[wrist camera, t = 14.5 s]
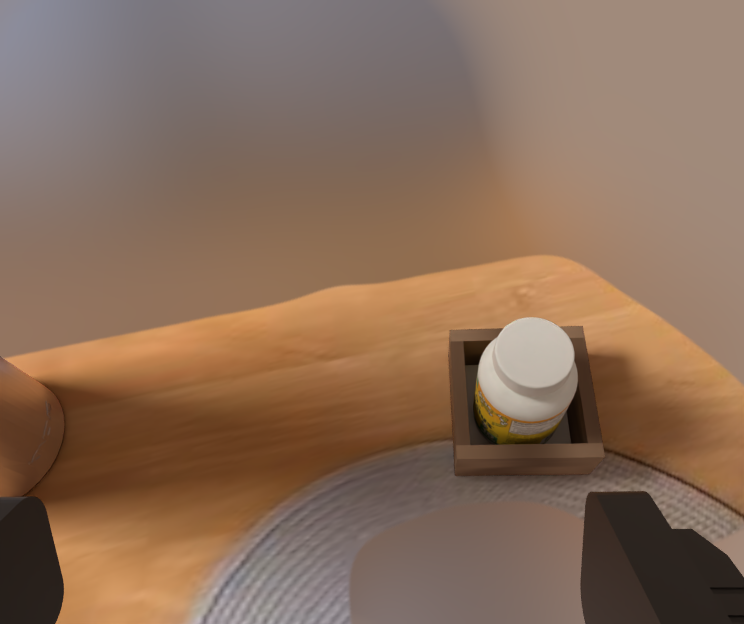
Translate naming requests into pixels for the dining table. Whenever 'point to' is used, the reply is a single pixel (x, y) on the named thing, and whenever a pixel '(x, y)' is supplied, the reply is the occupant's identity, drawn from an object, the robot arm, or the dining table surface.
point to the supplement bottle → (525, 383)
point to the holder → (521, 459)
